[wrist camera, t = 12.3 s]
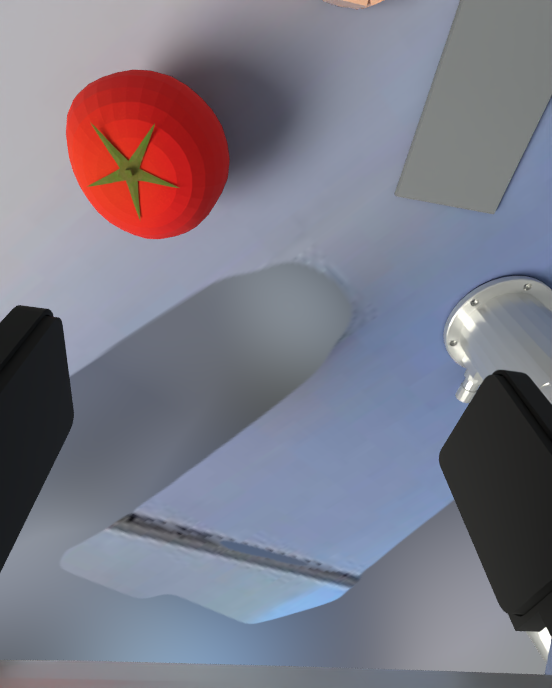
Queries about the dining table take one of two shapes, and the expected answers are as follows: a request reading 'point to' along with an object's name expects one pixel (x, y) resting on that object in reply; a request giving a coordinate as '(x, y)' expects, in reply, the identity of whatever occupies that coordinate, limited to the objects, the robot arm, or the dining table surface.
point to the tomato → (147, 152)
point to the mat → (481, 104)
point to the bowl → (353, 3)
